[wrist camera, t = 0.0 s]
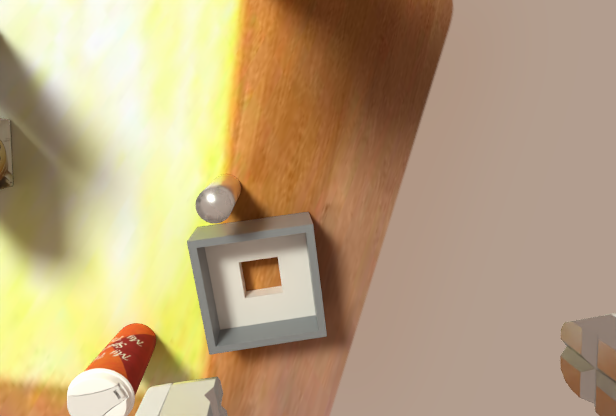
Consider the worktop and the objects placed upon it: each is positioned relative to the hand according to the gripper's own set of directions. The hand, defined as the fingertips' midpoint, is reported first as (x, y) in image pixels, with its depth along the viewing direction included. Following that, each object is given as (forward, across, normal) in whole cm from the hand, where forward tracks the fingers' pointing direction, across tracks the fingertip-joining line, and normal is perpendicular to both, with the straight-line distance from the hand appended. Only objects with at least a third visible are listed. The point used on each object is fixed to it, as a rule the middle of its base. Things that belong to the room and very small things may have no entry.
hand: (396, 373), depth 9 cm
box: (+48, +7, +15) cm, 51 cm away
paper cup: (+48, +27, +23) cm, 60 cm away
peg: (+48, +10, +2) cm, 49 cm away
